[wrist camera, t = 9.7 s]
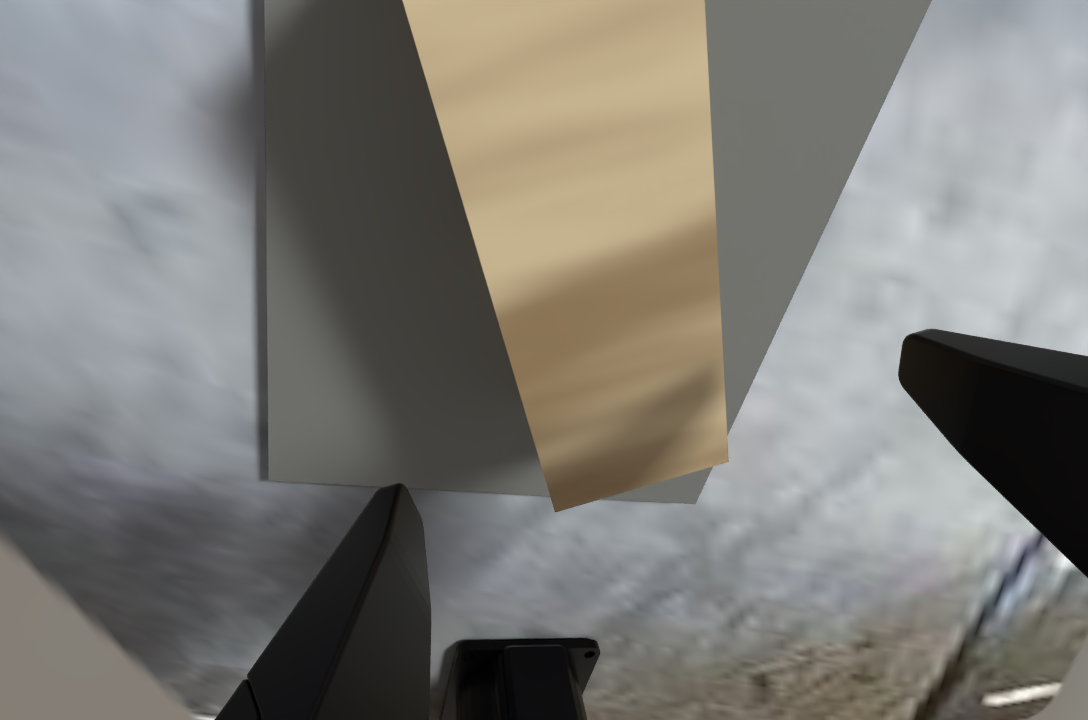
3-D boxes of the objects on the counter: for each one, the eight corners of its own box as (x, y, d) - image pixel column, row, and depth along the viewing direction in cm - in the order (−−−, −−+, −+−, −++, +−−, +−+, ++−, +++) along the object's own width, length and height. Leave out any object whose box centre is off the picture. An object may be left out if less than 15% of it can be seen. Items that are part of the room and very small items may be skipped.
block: (728, 461, 13) (692, -246, 7) (555, 512, 13) (353, -164, 7) (663, 370, 17) (601, -139, 11) (529, 409, 17) (384, -85, 11)
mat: (689, 493, 21) (695, 503, 21) (273, 468, 17) (268, 481, 17) (945, -68, 13) (965, -72, 12) (271, -346, 9) (261, -370, 9)
